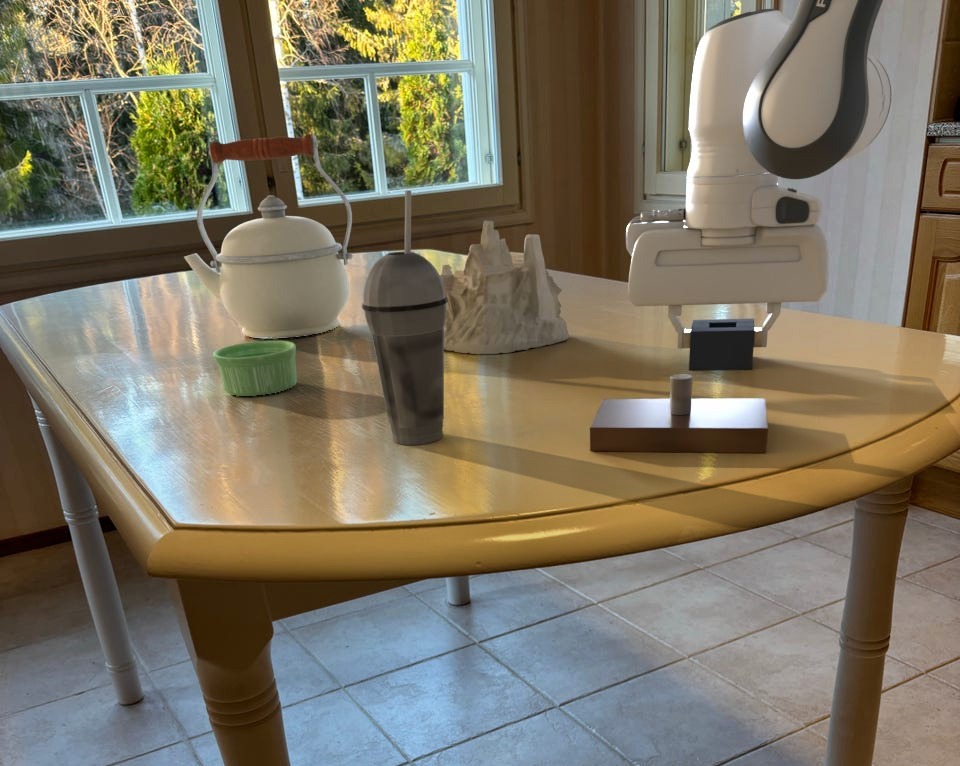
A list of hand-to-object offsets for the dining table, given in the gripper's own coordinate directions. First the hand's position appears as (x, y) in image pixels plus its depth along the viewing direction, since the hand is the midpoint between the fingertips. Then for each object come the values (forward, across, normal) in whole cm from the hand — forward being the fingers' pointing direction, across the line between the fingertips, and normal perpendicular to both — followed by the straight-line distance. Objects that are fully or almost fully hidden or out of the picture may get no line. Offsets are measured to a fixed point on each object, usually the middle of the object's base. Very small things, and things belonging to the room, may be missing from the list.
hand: (721, 347), depth 100 cm
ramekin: (+2, -50, -10) cm, 51 cm away
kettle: (+2, -63, +24) cm, 67 cm away
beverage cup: (+2, -26, -28) cm, 38 cm away
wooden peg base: (+2, -3, -27) cm, 27 cm away
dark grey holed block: (+2, 0, 0) cm, 2 cm away
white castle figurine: (+2, -28, +14) cm, 31 cm away
